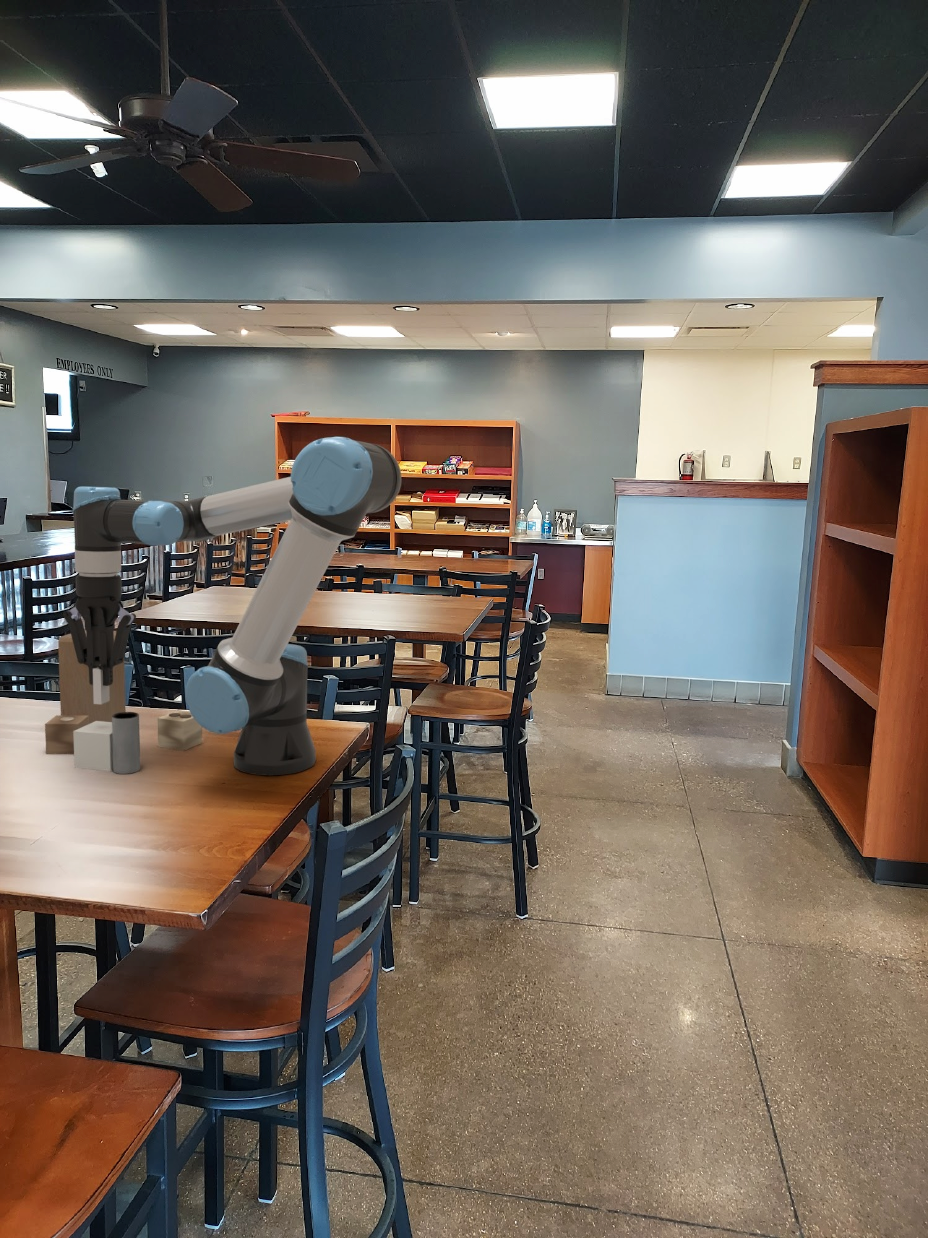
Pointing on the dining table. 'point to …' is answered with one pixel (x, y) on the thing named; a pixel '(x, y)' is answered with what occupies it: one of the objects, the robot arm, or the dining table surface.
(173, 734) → the maple block
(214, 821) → the dining table surface
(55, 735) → the walnut block
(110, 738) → the grey block
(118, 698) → the block
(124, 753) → the planter
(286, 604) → the robot arm
